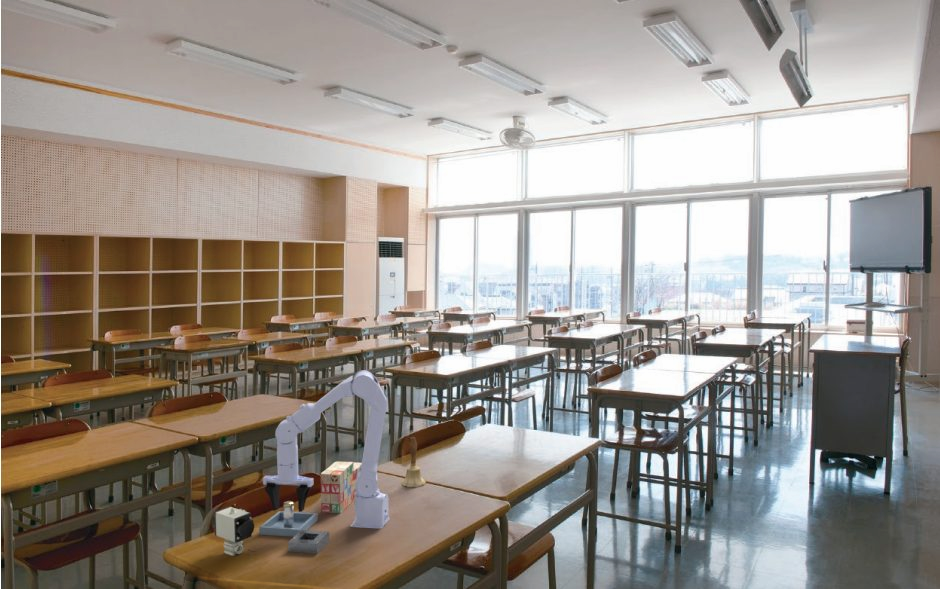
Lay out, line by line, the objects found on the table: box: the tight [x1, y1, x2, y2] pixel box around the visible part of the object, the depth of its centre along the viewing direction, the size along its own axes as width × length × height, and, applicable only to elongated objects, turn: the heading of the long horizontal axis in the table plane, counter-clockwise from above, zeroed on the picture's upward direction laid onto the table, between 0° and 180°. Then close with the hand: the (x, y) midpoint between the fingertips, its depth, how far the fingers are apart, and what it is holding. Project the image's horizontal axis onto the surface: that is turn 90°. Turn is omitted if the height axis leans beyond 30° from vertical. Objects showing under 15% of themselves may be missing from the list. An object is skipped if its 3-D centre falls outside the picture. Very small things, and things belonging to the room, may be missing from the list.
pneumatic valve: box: [211, 506, 255, 556], centre depth 171 cm, size 6×12×12 cm, turn 57°
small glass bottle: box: [283, 500, 295, 528], centre depth 186 cm, size 3×3×7 cm
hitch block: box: [287, 529, 330, 554], centre depth 174 cm, size 8×8×3 cm
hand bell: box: [401, 436, 426, 488], centre depth 224 cm, size 8×8×16 cm
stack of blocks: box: [320, 461, 362, 514], centre depth 208 cm, size 21×6×12 cm, turn 170°
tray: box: [258, 510, 319, 538], centre depth 186 cm, size 12×12×2 cm
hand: (288, 509), depth 186 cm, fingers open, 7 cm apart
